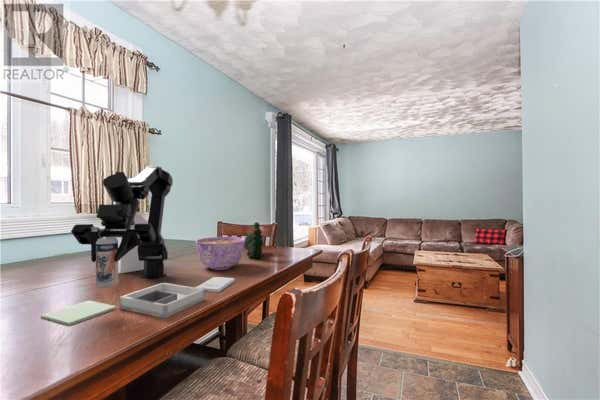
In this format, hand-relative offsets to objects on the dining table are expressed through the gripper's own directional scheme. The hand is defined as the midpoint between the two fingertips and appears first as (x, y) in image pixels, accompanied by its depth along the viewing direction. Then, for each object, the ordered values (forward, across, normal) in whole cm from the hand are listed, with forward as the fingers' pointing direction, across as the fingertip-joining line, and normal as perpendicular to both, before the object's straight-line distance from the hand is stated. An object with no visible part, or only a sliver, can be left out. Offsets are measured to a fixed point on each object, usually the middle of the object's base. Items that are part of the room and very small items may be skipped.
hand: (104, 261), depth 72 cm
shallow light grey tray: (+6, +12, +13) cm, 19 cm away
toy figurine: (-37, +37, +57) cm, 78 cm away
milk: (-25, -13, +45) cm, 53 cm away
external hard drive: (-4, +24, +25) cm, 35 cm away
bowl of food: (-22, +23, +42) cm, 53 cm away
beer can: (+4, 0, +6) cm, 7 cm away
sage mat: (+8, -6, +11) cm, 15 cm away
